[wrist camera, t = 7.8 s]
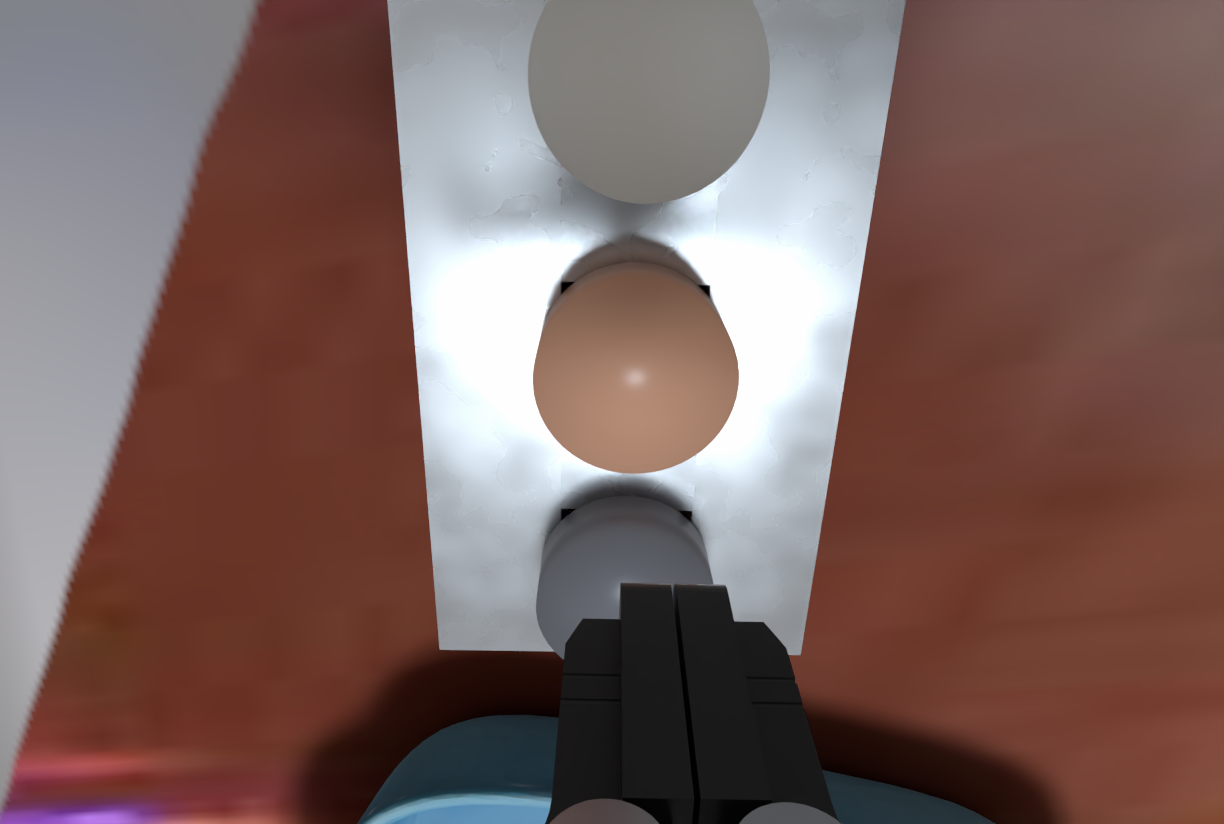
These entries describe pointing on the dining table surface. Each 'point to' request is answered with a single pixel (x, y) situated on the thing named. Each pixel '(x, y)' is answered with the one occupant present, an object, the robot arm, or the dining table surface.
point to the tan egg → (635, 369)
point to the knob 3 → (612, 561)
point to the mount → (621, 233)
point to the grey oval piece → (648, 91)
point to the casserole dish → (524, 769)
